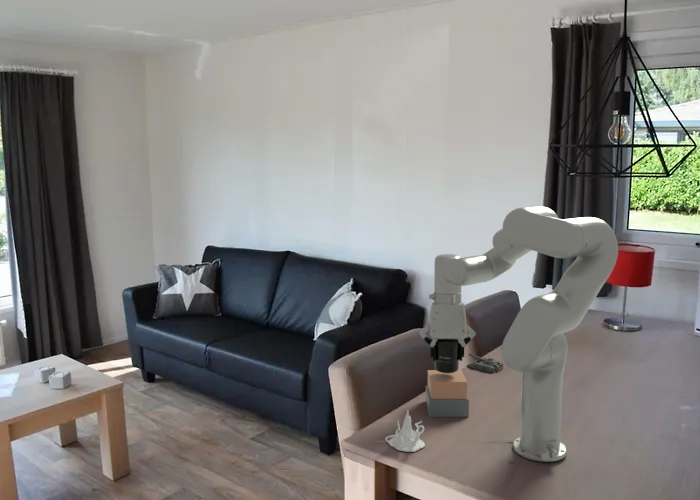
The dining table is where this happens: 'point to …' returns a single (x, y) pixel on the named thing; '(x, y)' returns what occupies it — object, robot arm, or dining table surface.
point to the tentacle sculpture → (407, 436)
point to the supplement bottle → (447, 355)
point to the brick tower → (447, 394)
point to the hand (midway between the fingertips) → (447, 358)
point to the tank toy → (485, 364)
